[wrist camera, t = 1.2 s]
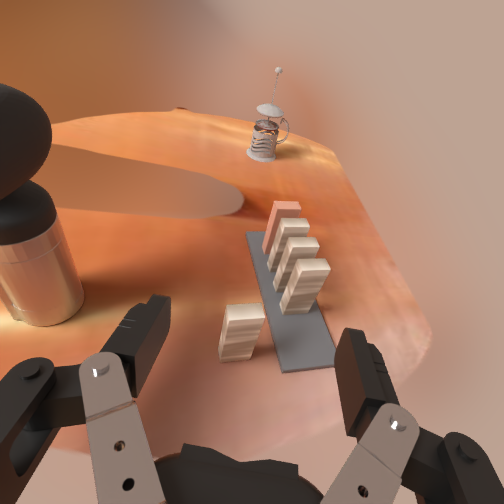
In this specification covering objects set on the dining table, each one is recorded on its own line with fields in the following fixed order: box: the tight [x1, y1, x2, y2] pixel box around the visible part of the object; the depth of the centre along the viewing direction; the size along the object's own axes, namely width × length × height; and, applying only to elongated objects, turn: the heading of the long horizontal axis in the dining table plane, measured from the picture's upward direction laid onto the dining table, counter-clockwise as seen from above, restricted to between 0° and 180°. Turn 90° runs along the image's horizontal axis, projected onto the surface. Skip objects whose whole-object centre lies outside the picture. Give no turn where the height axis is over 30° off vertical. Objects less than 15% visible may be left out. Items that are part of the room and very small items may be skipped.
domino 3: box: [273, 237, 320, 292], centre depth 55 cm, size 2×5×12 cm, turn 101°
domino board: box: [246, 232, 336, 373], centre depth 59 cm, size 10×32×1 cm, turn 11°
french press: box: [246, 67, 289, 162], centre depth 90 cm, size 10×12×25 cm
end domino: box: [262, 201, 302, 254], centre depth 62 cm, size 2×5×12 cm, turn 101°
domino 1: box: [218, 303, 265, 363], centre depth 44 cm, size 2×5×12 cm, turn 101°
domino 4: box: [280, 258, 331, 315], centre depth 51 cm, size 2×5×12 cm, turn 101°
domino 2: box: [267, 218, 310, 272], centre depth 58 cm, size 2×5×12 cm, turn 101°
